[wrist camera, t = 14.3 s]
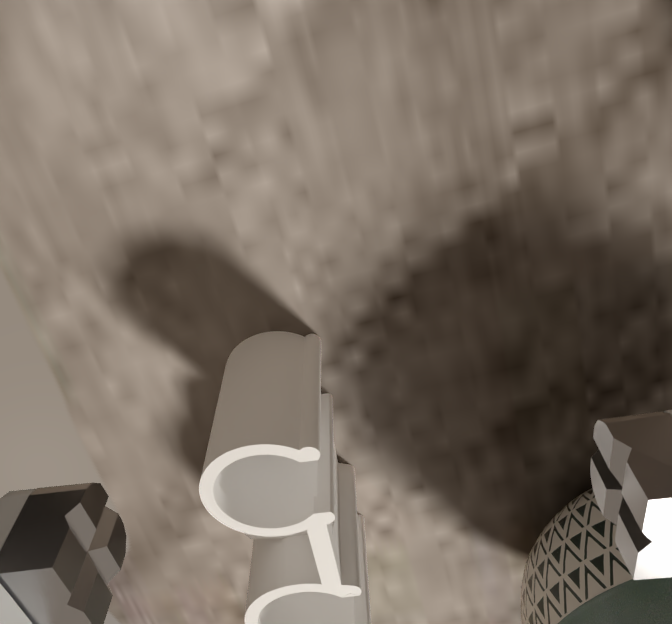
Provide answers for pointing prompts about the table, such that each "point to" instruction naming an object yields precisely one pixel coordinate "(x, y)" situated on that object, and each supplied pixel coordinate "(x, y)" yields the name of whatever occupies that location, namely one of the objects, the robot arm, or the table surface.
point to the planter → (587, 575)
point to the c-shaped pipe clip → (286, 485)
